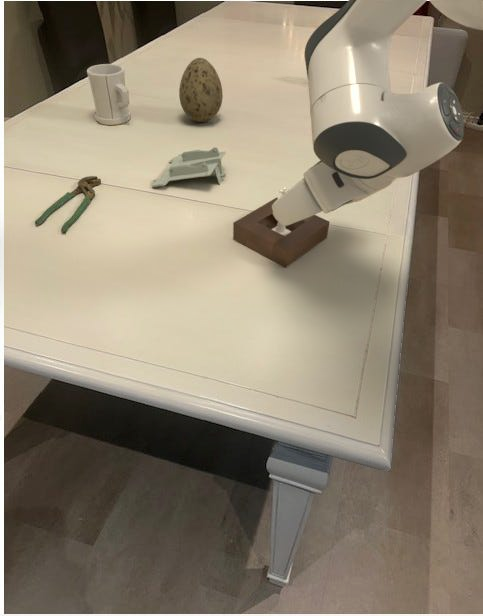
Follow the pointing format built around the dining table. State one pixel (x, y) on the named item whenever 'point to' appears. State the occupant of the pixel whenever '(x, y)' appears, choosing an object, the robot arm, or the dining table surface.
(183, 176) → the metal bracket
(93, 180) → the pliers
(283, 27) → the dining table surface
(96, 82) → the cup
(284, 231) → the chess piece
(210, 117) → the decorative egg
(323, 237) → the socket block
